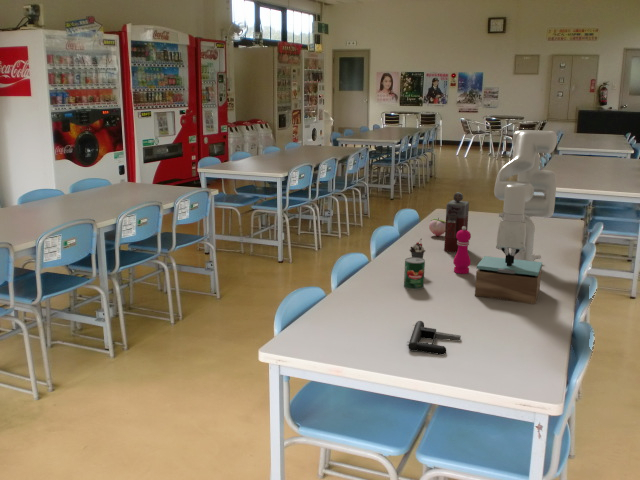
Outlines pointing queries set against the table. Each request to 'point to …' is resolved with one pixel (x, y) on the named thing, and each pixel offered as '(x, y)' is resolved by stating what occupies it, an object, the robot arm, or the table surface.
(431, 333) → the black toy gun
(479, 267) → the lid
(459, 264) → the pepper mill
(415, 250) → the sundae
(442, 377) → the table surface
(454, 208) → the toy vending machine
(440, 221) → the decorative fruit
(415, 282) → the canned tomato
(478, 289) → the box
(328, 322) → the table surface
